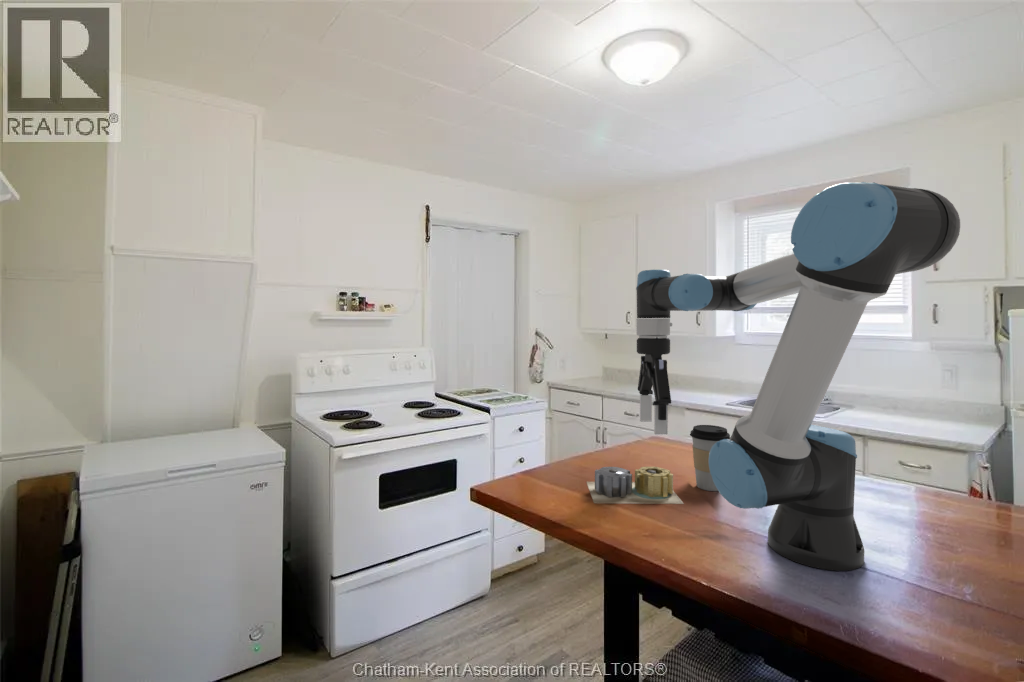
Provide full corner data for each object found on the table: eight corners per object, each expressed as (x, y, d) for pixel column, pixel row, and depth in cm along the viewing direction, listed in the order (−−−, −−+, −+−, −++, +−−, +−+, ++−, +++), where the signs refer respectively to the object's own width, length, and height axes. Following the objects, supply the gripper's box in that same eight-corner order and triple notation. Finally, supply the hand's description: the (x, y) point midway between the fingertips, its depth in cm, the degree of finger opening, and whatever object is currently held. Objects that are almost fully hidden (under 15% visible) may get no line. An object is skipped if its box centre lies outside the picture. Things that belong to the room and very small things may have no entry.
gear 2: (676, 498, 112) (677, 477, 111) (639, 498, 112) (640, 476, 112) (666, 485, 120) (666, 465, 120) (631, 485, 120) (632, 465, 120)
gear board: (684, 510, 109) (684, 480, 109) (594, 509, 110) (594, 480, 109) (666, 488, 123) (666, 461, 123) (586, 487, 123) (586, 461, 123)
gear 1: (634, 498, 112) (635, 477, 112) (598, 498, 112) (598, 476, 112) (627, 485, 120) (627, 465, 120) (593, 485, 121) (593, 465, 120)
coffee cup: (723, 496, 117) (725, 434, 116) (683, 488, 123) (684, 429, 122) (733, 485, 125) (734, 427, 124) (695, 478, 130) (696, 422, 129)
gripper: (687, 339, 101) (686, 440, 102) (655, 335, 126) (654, 416, 127) (650, 339, 102) (650, 440, 103) (626, 335, 127) (625, 416, 127)
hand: (652, 427), depth 115 cm, fingers open, 13 cm apart
